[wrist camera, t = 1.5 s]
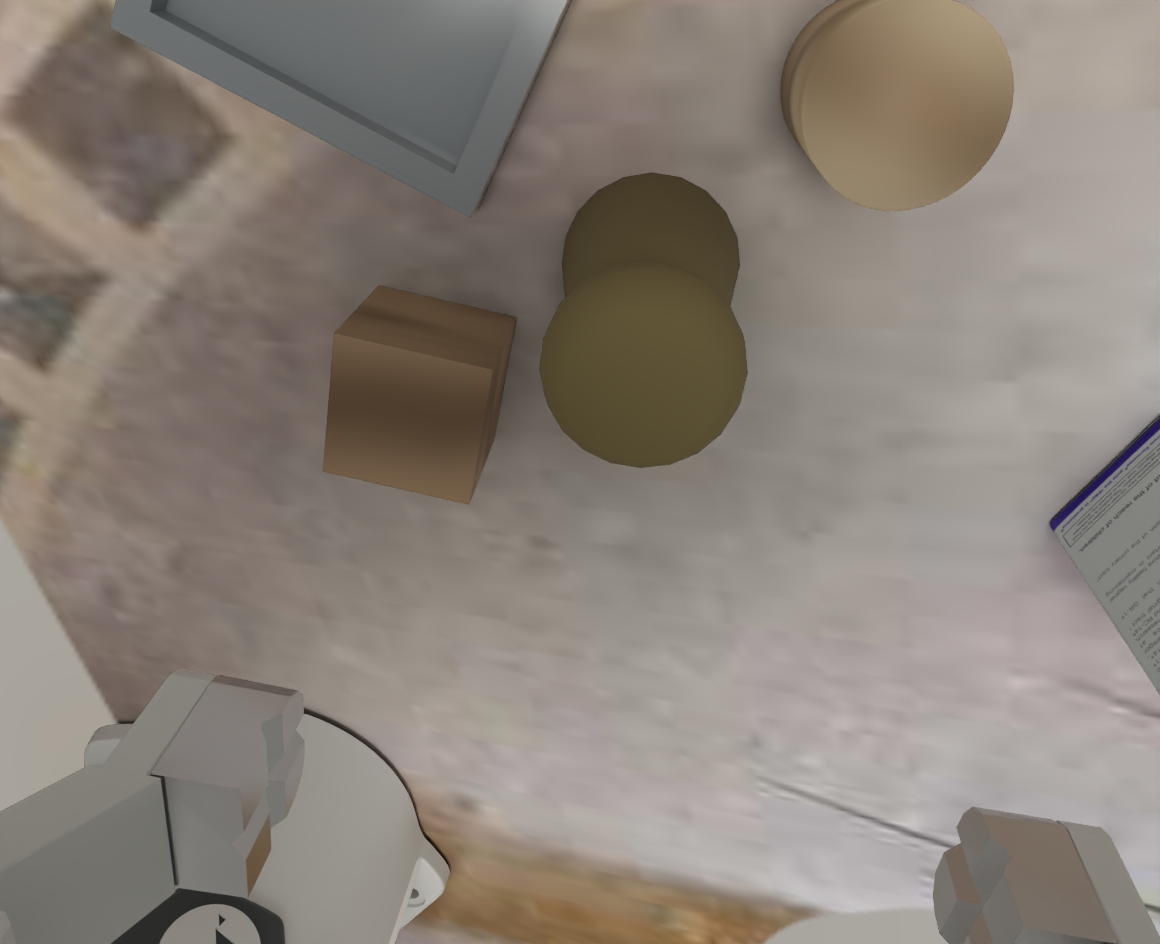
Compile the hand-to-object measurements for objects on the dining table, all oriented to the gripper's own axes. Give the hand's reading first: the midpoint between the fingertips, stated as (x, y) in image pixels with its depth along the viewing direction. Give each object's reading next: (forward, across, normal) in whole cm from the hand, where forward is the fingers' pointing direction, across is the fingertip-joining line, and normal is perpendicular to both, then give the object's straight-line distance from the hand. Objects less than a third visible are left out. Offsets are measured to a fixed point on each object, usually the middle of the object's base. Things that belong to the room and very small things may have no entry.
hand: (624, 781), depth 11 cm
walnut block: (+23, +8, +5) cm, 25 cm away
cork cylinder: (+23, -5, -6) cm, 24 cm away
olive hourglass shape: (+23, 0, 0) cm, 23 cm away
